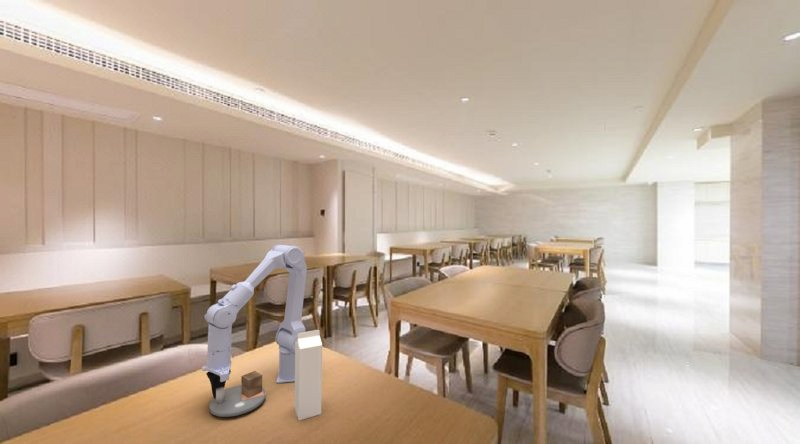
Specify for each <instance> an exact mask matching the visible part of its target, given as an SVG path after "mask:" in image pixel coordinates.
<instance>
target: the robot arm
mask: <svg viewBox="0 0 800 444" xmlns="http://www.w3.org/2000/svg"><path fill="white" fill-rule="evenodd" d="M283 268H284V269H285V270H286V271H287V272H288V276H289V277H288V283H287V284H288V286H287V292H286V293H287V294H286V299H285V301H286V302H285V310H284V319H283V321H282V322H280V324H279V327H278V329H277V332H276V334H275V336H274V339H275V343H276V345H278V349H279V350H278V351H279V354H278V358H279V360H278V374H277V379H276V382H275V383H276V384H283V383H291V382H295V341H296V340H297V339H298V333H302V332H306V327H305V325H304V323H303V322H302V317H303V316H302V315H303V307H304V298H305V289H306V281H307V272H308V268H307V263H306V261H305V252H304V251H303V250H302V249H301V248H300V247H299V246H297V245H285V244H280V243H279V244H276V245H274V246H273V247H272V248H271V250H269V251H267V254H266V255H265V257H264V259H262V261H261V262H260V263H259V265H258V266H256V268H254V270H253V271H252V272H251V274H249V276H248V277H247V278H245V281H240V282H237V283H236V284H232V285H231V286H230V290H229V291H228V292H227V293H226V294H225V295H224V296H223V297H222V298H219V299H218V301H217V303H215V304H212V305H211V306H209V308H208V309H207V311H206V313H205V314H204V319H205V321H206V323H207V324H208V326H207V327H208V332H207V357H206V358H207V359H206V365H202V366H201V370H202V372H206V371H207V372H206V376H207V378H208V379H209V382H210V386H211V387H210V388H211V394H212V398H213V397H214V399H215V398H216V389H217V388H219V387H224V389H226V388H225V387H226V383H227V381H229V380H230V375H231V372H232V371H231V367H232V333H233V332H232V330H233V327H232V326H233V323H235V322H236V319H237V317H238V316H237V315H238V313H239V312H240V310H241V309H242V308H243V307H245V305H246V304H247V303H248V302H249V300H250V299H251V298H252V297H253V296H254V294H255V288H256V287H257V286H258V285H260V283H262V281H263V280H264V279H265V278H267V277H268V276H269V275H270V273H272V272H273V270H277V269H278V270H279V269H283Z"/></svg>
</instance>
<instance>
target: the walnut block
mask: <svg viewBox="0 0 800 444" xmlns="http://www.w3.org/2000/svg"><path fill="white" fill-rule="evenodd" d="M240 380H241V384H240V385H241V393H242V394H243V395H245V396H246V397H248V398H250V397H252V396H254V395H257V394H259V393H261V392H262V387H263V374H262V373H260V372H258V371H257V370H254V371H251V372H248V373H246V374H242V375H241V379H240Z"/></svg>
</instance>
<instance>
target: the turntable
mask: <svg viewBox="0 0 800 444" xmlns="http://www.w3.org/2000/svg"><path fill="white" fill-rule="evenodd" d="M265 399H266V389H265V387H264V386H262V392H261V393H259V394H257V395H254V396H252V397H250V398H248V397H246V396H245V395H243V394H242V393H241V384H237V385H234V386H230V387H227V388H224V387H219V388H217V389H216V398H215V399H214V397H213V396H212V398H211V399H210V401H209V403H208V404H209V405H208V407H209V408H208V409H209V412H210V413H211V415H214V416H217V417H221V418H222V417H223V418H225V417H226V418H227V417H228V418H229V417H235V416H240V415H243V414H246V413H249V412H251V411H253V410H255V409H256V408H258V407H259V406H261V405H262V404H263V403H264V401H265Z"/></svg>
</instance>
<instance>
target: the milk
mask: <svg viewBox="0 0 800 444" xmlns="http://www.w3.org/2000/svg"><path fill="white" fill-rule="evenodd" d="M320 335H321V331H320V330H319V329H314V330H309V331H305V332H302V333H298V339H297V340H296V341H295V381H294V408H293V409H294V411H295V415H296V417H297V420H298V421H302V420H306V419H310V418H312V417H315V416H319V415H322V399H323V398H322V396H323V395H322V393H323V392H322V391H323V390H322V389H323V386H322V384H323V342H322V339H321V336H320Z"/></svg>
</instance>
